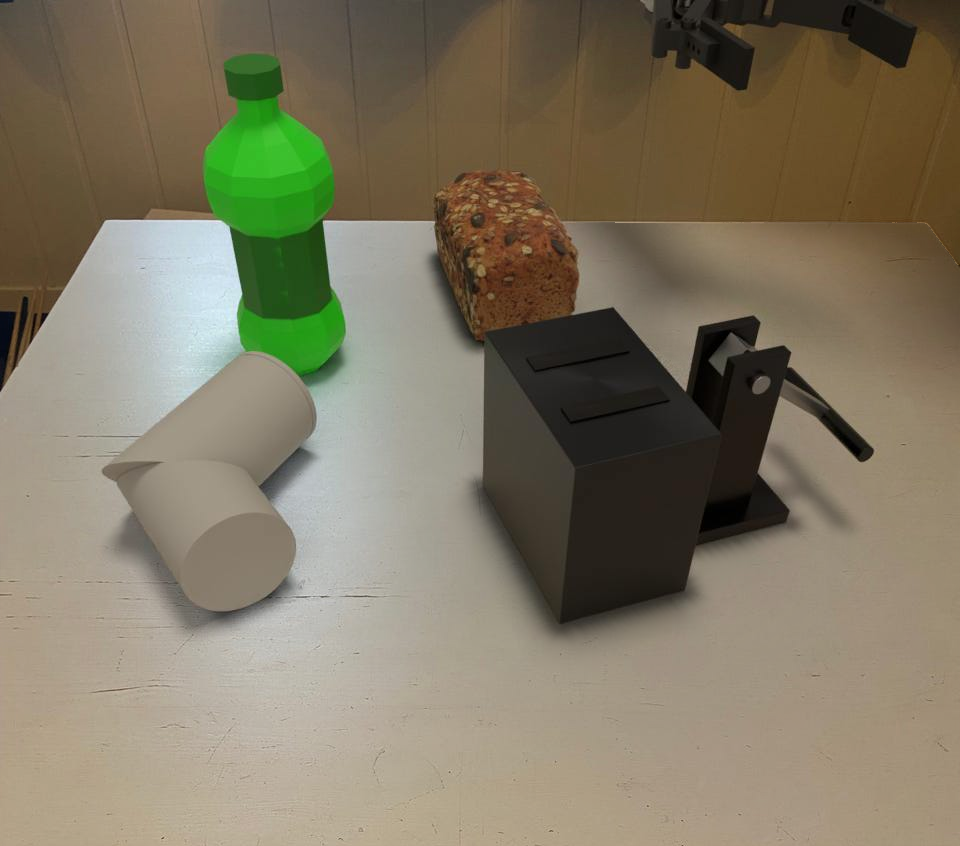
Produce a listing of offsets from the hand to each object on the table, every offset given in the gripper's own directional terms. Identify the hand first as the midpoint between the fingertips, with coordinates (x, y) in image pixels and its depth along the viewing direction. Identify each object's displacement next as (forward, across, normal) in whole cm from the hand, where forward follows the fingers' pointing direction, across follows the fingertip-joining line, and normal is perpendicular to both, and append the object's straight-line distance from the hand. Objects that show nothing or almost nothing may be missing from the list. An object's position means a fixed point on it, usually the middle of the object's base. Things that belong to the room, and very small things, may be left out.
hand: (829, 58), depth 71 cm
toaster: (+15, +24, -26) cm, 39 cm away
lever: (+15, +10, -17) cm, 25 cm away
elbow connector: (+4, +48, -26) cm, 55 cm away
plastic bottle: (-15, +39, -26) cm, 50 cm away
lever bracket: (+15, +13, -26) cm, 33 cm away
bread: (-20, +17, -26) cm, 37 cm away
